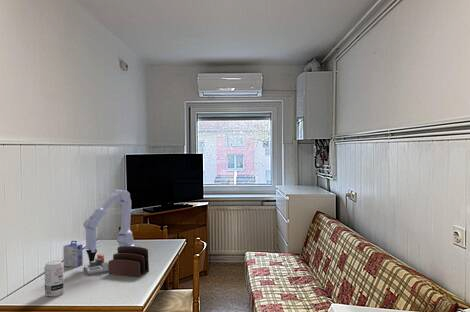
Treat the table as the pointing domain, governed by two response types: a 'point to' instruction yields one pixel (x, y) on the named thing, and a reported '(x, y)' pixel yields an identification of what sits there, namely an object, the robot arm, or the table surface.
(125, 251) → the letter holder
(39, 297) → the table surface
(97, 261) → the block
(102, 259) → the cap
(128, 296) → the table surface
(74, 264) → the ink cartridge box
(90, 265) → the block
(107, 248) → the table surface
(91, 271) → the breaker panel
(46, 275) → the supplement can
